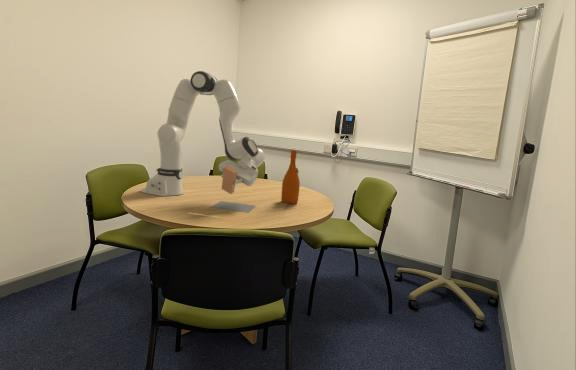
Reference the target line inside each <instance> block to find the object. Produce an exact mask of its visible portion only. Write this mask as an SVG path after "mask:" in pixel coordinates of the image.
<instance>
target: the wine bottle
mask: <svg viewBox="0 0 576 370" xmlns="http://www.w3.org/2000/svg"><path fill="white" fill-rule="evenodd" d="M297 154H298V151H297V150H296V149H291V150H290V156H289V158H290V161H289V162H290V163H289V166H288V169H287V171H286V173H285V174H284V176H283V179H282V182H281V183H282V184H281V197H280V198H281V199H280V200H281V202H282V203H283V204H287V205H295V204H298V201H299V196H300V195H299V194H300V185H301V183H300V182H301V181H300V177H299V173H300V172H299V169H298V167H297V165H296V160H297Z"/></svg>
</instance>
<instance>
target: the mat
mask: <svg viewBox="0 0 576 370" xmlns="http://www.w3.org/2000/svg"><path fill="white" fill-rule="evenodd" d="M256 207H257V205H254V204H247V203H239V202H232V201H223V200H220V201H218V202H216V203H215V204H213V205H211V206H210V207H209V208H210V209H215V210H216V209H218V210H225V211H232V212H237V213H238V212H240V213H245V214H246V213H247V214H249V213H250V212H252V210H254V209H255V208H256Z"/></svg>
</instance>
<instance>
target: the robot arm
mask: <svg viewBox="0 0 576 370" xmlns="http://www.w3.org/2000/svg"><path fill="white" fill-rule="evenodd" d="M198 95H200V96H201V95H203V96H213V95H214V98H215V100H216V103H217V105H218V109H219V118H218V122H219V127H220V130H221V131H220V132H221V135H222V138H223V144H224V153H225V156H226V158H228V159H226V160H223V161H221V162H220V163H219V165H218V171H220V172H221V173H222V174H221V175H220V177H221V178H222V179H223V173H224V167H226V166H227V165H228V166H229V167H231V168H233V169H235V170H237V175H236V180H235V181H233V184H235V186H236V185H238V184H244V185H245V186H247V187H251V186H253V185H254V183H255V182H256V180H257V179H258V174H259V170H258V168H259V167H260V166H261V165H262V164H263V163H264V161H265V158H266V157H265V156H266V155H265V152H264V151H263V150H262V149H260V148H259V147H258V146H257V144H256V141H254V139H252V138H251V137H248V136H244V137H242V138H240V139H238V140H235V137H234V133H233V127H232V125H233V123H234V120H235V119H236V118H237V117H238V115H239V113H240V110H241V103H240V100H239V98H238V95H237V92H236V91H235V88H234V86H233V84H232V83H231V81H230V80H228V79H220V80H219V79H217V78H216V77H215V76H213V75H212V74H211V73H208V72H206V71H203V70H199V71H195V72H194V73H193V74H191V77H190V79H188V78H183V79H181V80H180V81H179V83H178V85H177V86H176V88H175V91H174V94H173V96H172V99H171V102H170V103H169V107H168V113H167V114H168V115H167V120H166V123H164V124H162V125H161V126H160V127H159V128H158V130H157V133H156V134H157V138H158V145H159V150H160V167H159V168H156V169H155V172H157V173H156V174H155V175H154V176H153V177H151V178H149V179H148V180H147V182H146V185H145V188H142V189H141V193H144V194H149V195H154V196H158V197H167V196H170V197H171V196H172V197H173V196H180V195H183V194H184V193H185V191H184V188H183V183H182V180H183V168H182V161H183V159H182V157H183V156H182V155H183V154H182V151H181V141H182V140H183V139H184V137H185V134H186V130H187V127H188V122H189V118H190V115H191V112H192V109H193V107H194V104H195V101H196V98H197V96H198ZM236 161H237V162H236Z"/></svg>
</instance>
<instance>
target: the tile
mask: <svg viewBox="0 0 576 370" xmlns="http://www.w3.org/2000/svg"><path fill="white" fill-rule="evenodd" d="M222 174H223V178H222V183H221V190H223V191H224V192H226V193H229V194H230V195H232V194H233V193H234V192H235V188H236V185H235V184H233V181H235V180H236V175H237V170H235V169H233V168H231V167H229V166H228V165H227V166H226V167H224V173H223V172H222Z"/></svg>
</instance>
